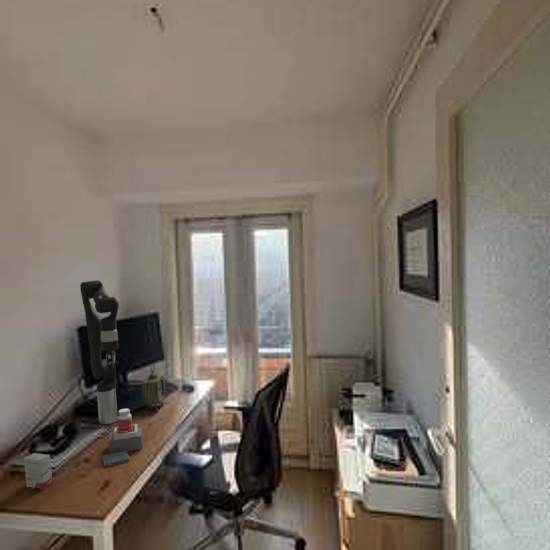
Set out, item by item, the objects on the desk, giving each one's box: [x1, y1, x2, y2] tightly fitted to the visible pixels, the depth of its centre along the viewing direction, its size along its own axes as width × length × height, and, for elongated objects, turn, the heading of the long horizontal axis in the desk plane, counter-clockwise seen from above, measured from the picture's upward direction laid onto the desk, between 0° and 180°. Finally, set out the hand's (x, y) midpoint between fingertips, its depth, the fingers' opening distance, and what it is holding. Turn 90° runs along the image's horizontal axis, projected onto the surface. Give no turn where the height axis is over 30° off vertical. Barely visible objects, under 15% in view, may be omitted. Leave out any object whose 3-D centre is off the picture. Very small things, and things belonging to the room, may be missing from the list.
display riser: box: [108, 423, 144, 455], centre depth 199 cm, size 10×14×8 cm
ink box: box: [23, 452, 54, 490], centre depth 169 cm, size 9×5×12 cm, turn 71°
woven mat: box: [101, 450, 131, 468], centre depth 187 cm, size 10×11×2 cm
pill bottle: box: [117, 408, 133, 434], centre depth 199 cm, size 6×6×11 cm
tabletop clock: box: [141, 364, 166, 412], centre depth 247 cm, size 14×9×25 cm, turn 179°
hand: (112, 373), depth 207 cm, fingers open, 8 cm apart
